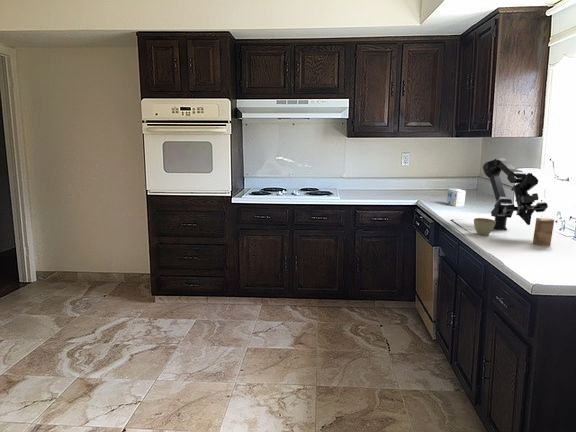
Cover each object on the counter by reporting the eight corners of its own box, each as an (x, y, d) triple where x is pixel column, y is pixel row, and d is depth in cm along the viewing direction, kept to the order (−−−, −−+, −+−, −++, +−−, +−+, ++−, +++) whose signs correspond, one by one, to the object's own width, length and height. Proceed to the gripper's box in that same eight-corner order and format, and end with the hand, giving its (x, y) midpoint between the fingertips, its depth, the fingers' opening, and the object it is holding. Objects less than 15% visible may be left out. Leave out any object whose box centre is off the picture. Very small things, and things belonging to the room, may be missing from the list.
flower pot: (467, 232, 236) (469, 218, 234) (483, 231, 239) (485, 217, 238) (482, 237, 226) (484, 222, 225) (498, 236, 230) (500, 221, 229)
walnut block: (532, 243, 218) (536, 217, 216) (544, 243, 219) (548, 218, 217) (538, 245, 214) (542, 219, 212) (550, 245, 215) (554, 219, 213)
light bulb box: (446, 203, 324) (447, 188, 322) (454, 203, 326) (456, 188, 324) (455, 206, 314) (457, 190, 312) (464, 206, 316) (466, 190, 314)
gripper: (506, 189, 224) (513, 219, 218) (547, 185, 222) (556, 216, 215) (499, 199, 234) (506, 228, 228) (539, 196, 232) (547, 225, 226)
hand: (528, 224), depth 224 cm, fingers closed
